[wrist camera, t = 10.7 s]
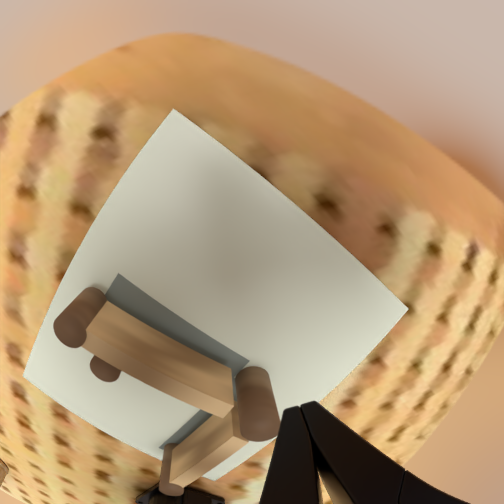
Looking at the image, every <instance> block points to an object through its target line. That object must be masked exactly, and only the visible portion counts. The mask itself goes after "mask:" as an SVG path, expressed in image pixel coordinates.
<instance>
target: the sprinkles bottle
mask: <svg viewBox="0 0 504 504" xmlns="http://www.w3.org/2000/svg"><path fill="white" fill-rule="evenodd" d="M7 473H8V469H7V467H6V465H5V464H4V463H3V462H2V461H1V460H0V486H1V484H2V482H3V480H4V478H5V476H6V474H7Z"/></svg>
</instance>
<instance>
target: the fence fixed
mask: <svg viewBox="0 0 504 504" xmlns="http://www.w3.org/2000/svg"><path fill="white" fill-rule="evenodd" d="M90 369H91V371H92V373H93V374H94V375H95V376H96V377H97V378H98V379H100V380H102V381H104V382H114V381H116V380H117V379H118V378H119V376H120V373H121V370H119V369H117V368H116V367H114V366H112V365H110V364H109V363H107V362H105V361H104V360H102V359H100V358H99V357H97V356H95V355H94V356H93V358H92V359H91V361H90ZM235 384H236V395H237V402H236V401H234V407H233V408H232V409H231V410H230V411H229V412H228V413H227V415H226V416H225V417H224V418H221V417H218V416H216V415H212V416H211V417H210V418H209V419H208V420H207V421H205V422H204V423H203V424H202V425H201V426H200V427H199V428H197V429H196V430H195V431H194V432H193V433H192V434H191V435H189V436H188V437H187V438H186V439H185V440H184V441H182V442H181V443H180V444H177V443H168V444H166V445H165V446H164V452H163V459H162V467H161V475H160V484H159V491H160V492H162V493H163V494H166V495H170V496H180V495H182V494H183V493H184V487H185V486H187V485H189V484H190V483H192V482H193V481H195V480H196V479H198V478H199V477H201V476H203V475H204V474H206V473H207V472H208V471H210V470H211V469H213V468H214V467H216V466H217V465H219V464H220V463H221V462H223V461H224V460H226V459H227V458H228V457H230V456H231V455H233V454H234V453H235V452H237V451H238V450H239V449H241V448H242V447H243V446H245V445H246V444H247V443H249V441H253V442H263V441H267V440H270V439H272V438H274V437H276V436H277V435H278V431H279V426H280V422H281V421H280V418H279V414H278V410H277V406H276V402H275V398H274V393H273V389H272V385H271V381H270V377H269V374H268V372H267V371H266V370H265V369H263V368H261V367H258V366H250V367H246V368H244V369H242V370H241V371H240V372H239V373H238V374H237V375H236V377H235Z"/></svg>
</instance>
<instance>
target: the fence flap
mask: <svg viewBox="0 0 504 504" xmlns="http://www.w3.org/2000/svg"><path fill="white" fill-rule="evenodd" d="M53 329H54V332H55V335H56V337H57V338H58V339H59V341H60V342H61V343H63V344H64V345H66V346H67V347H70V348H79V347H82V348H84V349H86V350H87V351H89V352H90V353H92V354H94V355H95V356H97V357H99V358H100V359H102V360H104V361H105V362H107V363H109V364H110V365H112V366H114V367H116V368H117V369H119V370H121V371H123V372H125V373H126V374H128V375H130V376H132V377H134V378H136V379H138V380H139V381H141V382H143V383H145V384H147V385H149V386H151V387H153V388H155V389H157V390H159V391H161V392H163V393H165V394H168V395H170V396H172V397H174V398H176V399H178V400H180V401H183V402H185V403H187V404H189V405H192V406H194V407H196V408H199V409H201V410H203V411H206V412H208V413H211V414H213V415H216V416H218V417H221V418H224V417H225V416H226V415H227V413H228V412H229V411H230V410H231V409H232V408H233V407H234V398H233V386H232V373H231V368H229V367H227V366H224V365H222V364H220V363H218V362H216V361H214V360H212V359H210V358H208V357H206V356H204V355H202V354H200V353H198V352H196V351H194V350H192V349H190V348H188V347H187V346H185V345H183V344H181V343H179V342H177V341H175V340H173V339H172V338H170V337H168V336H166V335H164V334H163V333H161V332H159V331H157V330H155V329H154V328H152V327H150V326H148V325H147V324H145V323H143V322H142V321H140V320H138V319H136V318H135V317H133V316H131V315H130V314H128V313H126V312H125V311H123V310H121V309H120V308H118V307H117V306H115V305H113V304H112V303H110V302H109V301H107V298H106V296H105V295H104V293H103V292H102V291H101V290H99V289H97V288H95V287H88V288H85V289H84V290H83V291H82V292H81V293H80V294H79V295H78V296H77V297H76V298H75V299H74V300H73V301H72V302H71V303H70V304H69V305H68V306H67V307H66V308H65V309H64V310H63V311H62V313H61V314H60V315H59V316H58V317H57V318H56V319H55V320H54V323H53Z"/></svg>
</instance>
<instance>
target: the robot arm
mask: <svg viewBox="0 0 504 504" xmlns="http://www.w3.org/2000/svg"><path fill="white" fill-rule="evenodd" d="M318 472H319V473H318ZM319 475H320V477H321V479H322V482H323V484H324V486H325V488H326V490H327V492H328V494H329V496H330V498H331V500H332V502H333V504H470V503H468V502H465V501H462V500H460V499H458V498H455V497H453V496H451V495H448V494H447V493H444V492H442V491H440V490H438V489H436V488H434V487H433V486H431V485H429V484H427V483H426V482H425V481H423V480H421V479H420V478H418V477H416V476H415V475H413V474H412V473H411V472H409V471H408V470H407V471H405V468H403V467H402V466H400V465H399V464H398V463H396V462H395V461H393V460H392V459H391V458H389V457H388V456H386V455H385V454H384V453H382V452H381V451H380V450H378V449H377V448H376V447H374V446H373V445H372V444H370V443H369V442H368V441H366V440H365V439H364V438H362V437H361V436H360V435H358V434H357V433H356V432H354V431H353V430H352V429H350V428H349V427H348V426H347V425H345V424H344V423H343V422H342V421H340V420H339V419H338V418H336V417H335V416H334V415H333V414H331V413H330V412H329V411H328V410H327V409H325V408H324V407H323V406H322V405H320V404H319V403H318V402H317V401H310V402H307V403H303V404H301V405H300V406H298V405H297V406H293V407H289V408H286V409H284V411H283V414H282V418H281V422H280V426H279V431H278V435H277V439H276V443H275V447H274V451H273V455H272V458H271V462H270V466H269V470H268V473H267V477H266V481H265V484H264V488H263V491H262V495H261V498H260V502H259V504H323V498H322V491H321V484H320V479H319ZM159 484H160V482H159V483H158V484H157V485H155V486H154V487H152V488H151V489H149V490H147V491H146V492H144V493H143V494H141V495H140V496H138V497H137V498H136V501H135V502H136V503H138V504H225V500H224V499H222V498H218V497H215V496H212V495H208V494H205V493H202V492H199V491H196V490H193V489H190V488H187V487H184V493H183V494H182V495H180V496H170V495H166V494H163V493H162V492H160V491H159Z"/></svg>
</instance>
